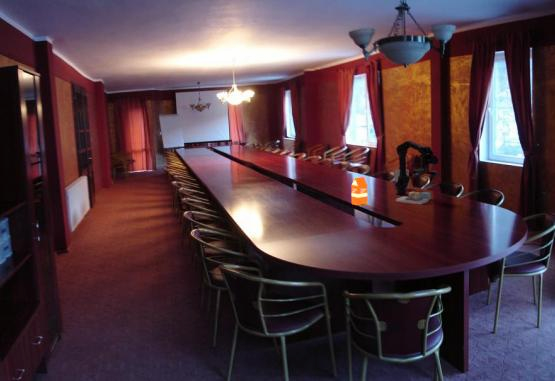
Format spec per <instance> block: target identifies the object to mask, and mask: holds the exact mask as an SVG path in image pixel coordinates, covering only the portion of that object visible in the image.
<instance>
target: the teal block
mask: <svg viewBox="0 0 555 381" xmlns="http://www.w3.org/2000/svg"><path fill="white" fill-rule="evenodd" d="M431 194H432V193H431V192H427V191H422V192H420V197H423V199H428V201H429V200H431V199H432V198H431V197H432V196H431Z"/></svg>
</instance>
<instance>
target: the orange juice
mask: <svg viewBox="0 0 555 381" xmlns="http://www.w3.org/2000/svg"><path fill="white" fill-rule="evenodd" d="M367 183H368V182H367V181H366V179H365V177H364V176H360V177H354V179H353V181H352V184H351V204H352V205H353V206H354V205H355V206H357V205H359V206H362V205H361V204H365V205H368V184H367Z"/></svg>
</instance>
